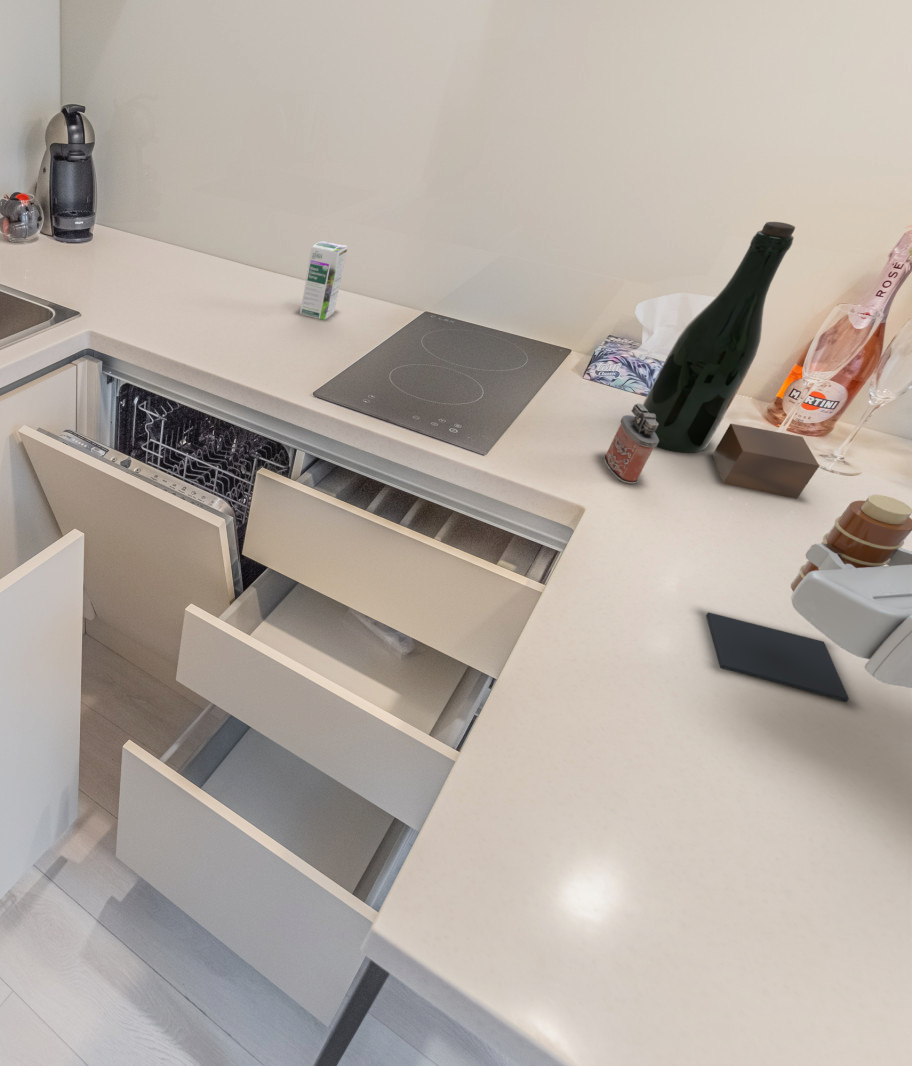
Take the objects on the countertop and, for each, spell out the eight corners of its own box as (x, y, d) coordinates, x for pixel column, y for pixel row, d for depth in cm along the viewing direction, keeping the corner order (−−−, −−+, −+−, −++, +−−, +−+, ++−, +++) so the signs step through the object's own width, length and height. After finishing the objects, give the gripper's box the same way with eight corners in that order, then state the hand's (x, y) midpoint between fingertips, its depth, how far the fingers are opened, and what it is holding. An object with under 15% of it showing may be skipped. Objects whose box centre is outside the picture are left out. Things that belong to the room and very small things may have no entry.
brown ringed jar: (807, 574, 79) (875, 484, 72) (862, 604, 75) (938, 513, 69) (777, 586, 77) (843, 495, 71) (831, 618, 74) (907, 525, 67)
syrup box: (298, 316, 160) (310, 245, 152) (309, 308, 164) (322, 239, 155) (323, 322, 158) (337, 251, 149) (334, 314, 162) (349, 244, 153)
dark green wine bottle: (720, 449, 119) (848, 230, 99) (674, 461, 115) (797, 238, 95) (659, 419, 126) (766, 210, 106) (614, 429, 123) (717, 216, 103)
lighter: (641, 488, 109) (673, 427, 103) (616, 486, 109) (647, 425, 103) (620, 460, 115) (649, 400, 109) (596, 457, 116) (624, 398, 110)
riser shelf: (779, 471, 114) (802, 436, 110) (795, 502, 107) (819, 465, 103) (710, 457, 116) (730, 423, 113) (721, 486, 110) (742, 450, 106)
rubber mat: (818, 647, 84) (824, 641, 83) (843, 705, 77) (849, 699, 76) (703, 618, 87) (708, 611, 87) (717, 671, 81) (722, 664, 80)
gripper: (1128, 613, 62) (959, 515, 73) (910, 629, 60) (769, 526, 71) (1068, 666, 66) (916, 566, 77) (861, 683, 64) (734, 577, 75)
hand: (844, 547), depth 74 cm, fingers closed on brown ringed jar, 5 cm apart
